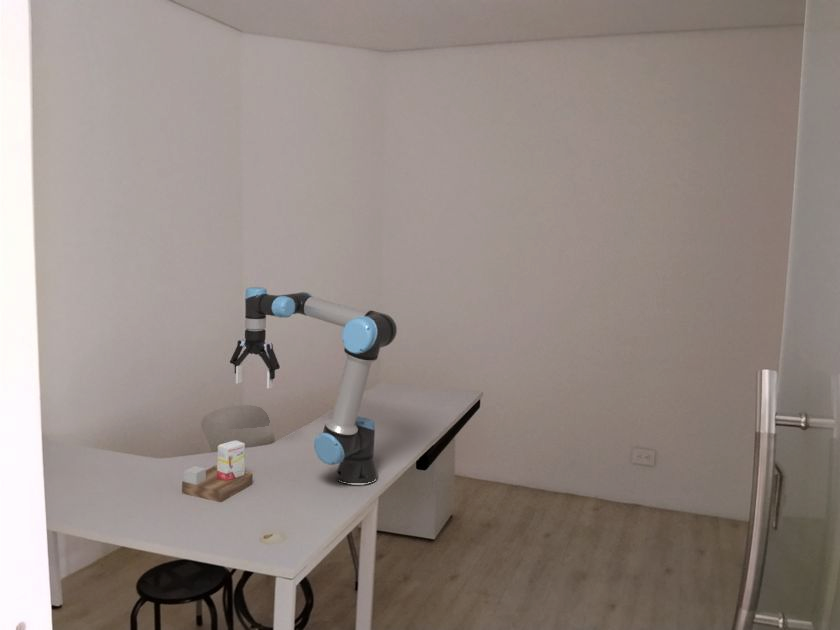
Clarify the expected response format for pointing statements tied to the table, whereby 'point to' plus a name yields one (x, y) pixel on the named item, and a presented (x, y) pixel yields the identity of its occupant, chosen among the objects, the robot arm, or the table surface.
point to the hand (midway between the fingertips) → (254, 385)
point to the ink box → (230, 460)
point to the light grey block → (195, 475)
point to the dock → (217, 486)
